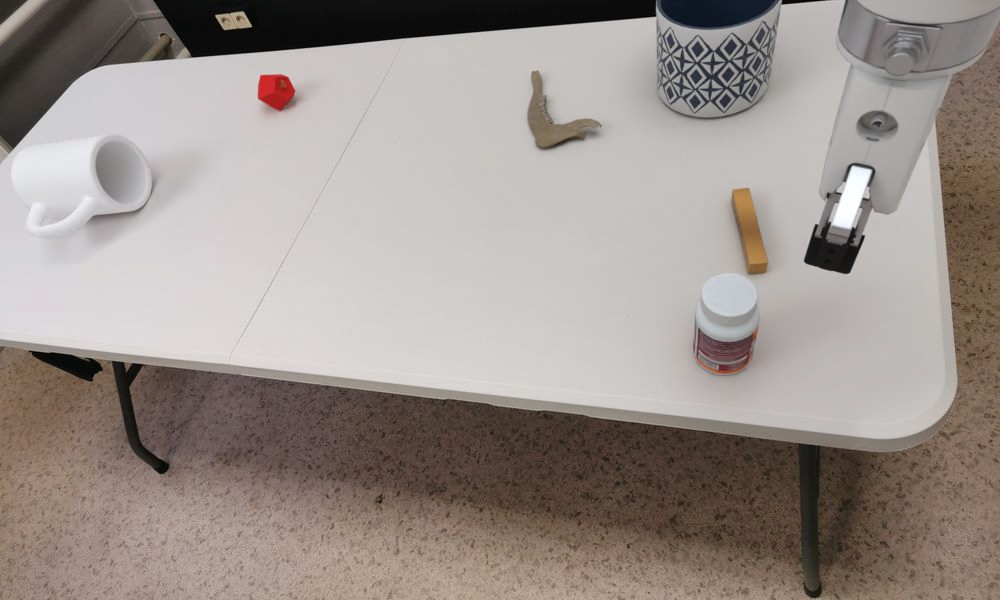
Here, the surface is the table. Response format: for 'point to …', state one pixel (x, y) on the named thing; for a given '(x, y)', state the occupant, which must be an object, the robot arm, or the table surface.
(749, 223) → the fry stick
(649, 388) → the table surface
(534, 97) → the jawbone
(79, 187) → the mug
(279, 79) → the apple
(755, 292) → the pill bottle
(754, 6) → the planter
